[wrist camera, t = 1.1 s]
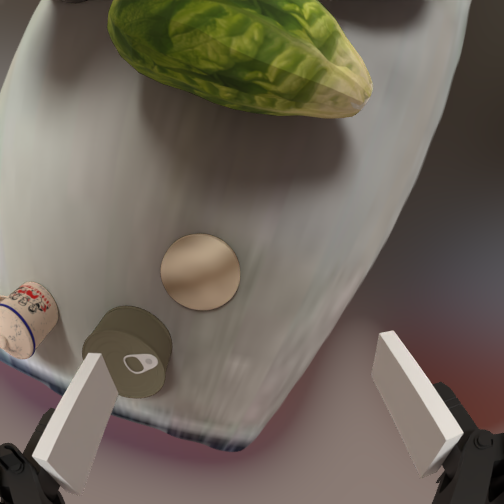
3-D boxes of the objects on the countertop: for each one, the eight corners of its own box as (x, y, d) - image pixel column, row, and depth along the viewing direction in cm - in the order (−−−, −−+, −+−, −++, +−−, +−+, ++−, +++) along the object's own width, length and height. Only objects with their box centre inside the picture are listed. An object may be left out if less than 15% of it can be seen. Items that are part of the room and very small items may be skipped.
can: (85, 315, 40) (66, 341, 34) (149, 294, 40) (135, 320, 33) (124, 374, 44) (112, 403, 38) (187, 360, 44) (180, 391, 37)
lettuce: (315, 161, 35) (367, 172, 20) (118, 75, 30) (51, 42, 15) (365, 63, 31) (433, 27, 16) (175, -19, 26) (146, -86, 11)
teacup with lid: (62, 292, 39) (22, 333, 28) (59, 337, 42) (27, 380, 31) (7, 264, 37) (-37, 295, 26) (7, 308, 40) (-29, 343, 29)
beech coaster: (147, 258, 38) (145, 262, 37) (212, 218, 36) (211, 220, 35) (191, 317, 41) (190, 321, 40) (254, 283, 40) (255, 287, 38)
